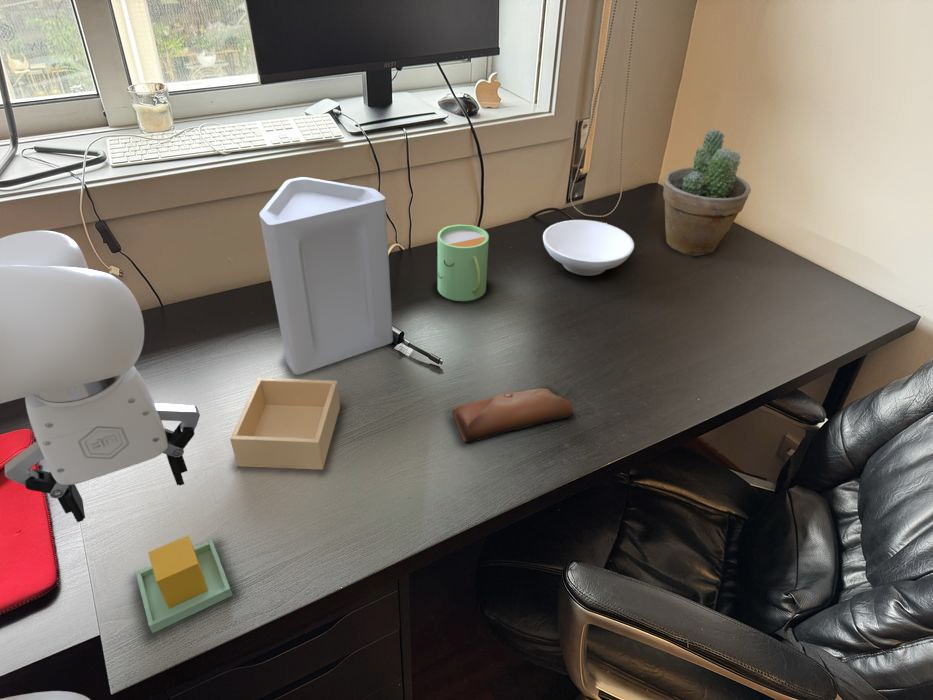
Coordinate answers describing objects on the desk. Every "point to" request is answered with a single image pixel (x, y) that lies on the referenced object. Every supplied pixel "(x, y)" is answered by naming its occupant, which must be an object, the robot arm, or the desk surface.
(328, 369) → the desk surface
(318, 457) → the sand bin
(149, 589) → the green tray
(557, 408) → the sunglasses case
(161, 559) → the mustard box
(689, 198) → the potted plant
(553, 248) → the bowl
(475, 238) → the mug
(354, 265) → the white triangular prism tub
